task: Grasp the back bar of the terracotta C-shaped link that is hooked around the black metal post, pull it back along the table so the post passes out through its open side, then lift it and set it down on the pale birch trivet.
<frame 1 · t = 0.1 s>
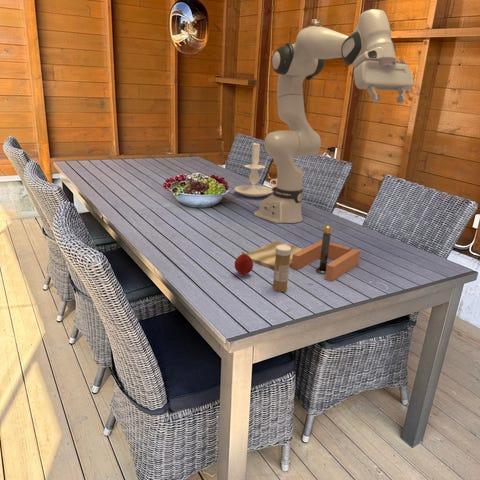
hand: (388, 102, 140), 54 cm above the table, tool tilted 30°, fingers open, 8 cm apart
sprinkles bottle: (279, 289, 137), on the table
c link: (325, 265, 156), on the table
candlestick: (256, 195, 245), on the table
trivet: (278, 256, 162), on the table
onion: (243, 276, 145), on the table
post stand: (322, 271, 151), on the table
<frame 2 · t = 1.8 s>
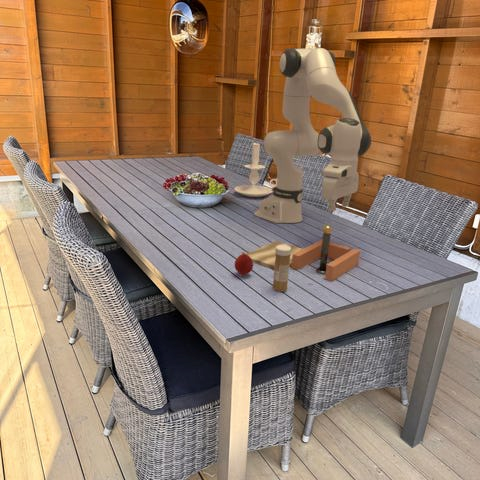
hand: (338, 208, 157), 18 cm above the table, tool pointing down, fingers open, 8 cm apart
nothing on the table moved.
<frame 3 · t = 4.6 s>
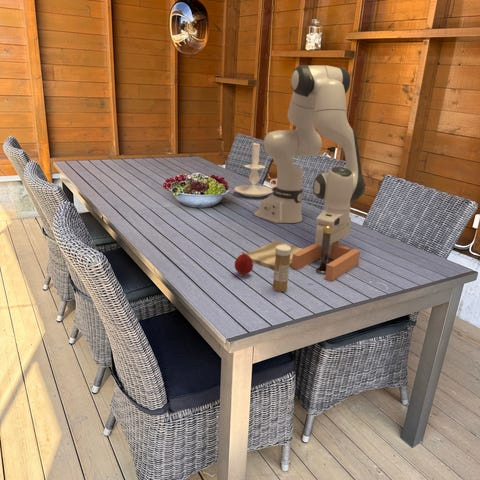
hand: (331, 252, 163), 2 cm above the table, tool pointing down, fingers closed on c link, 2 cm apart
c link: (325, 265, 156), on the table, touching gripper
everything else where it was.
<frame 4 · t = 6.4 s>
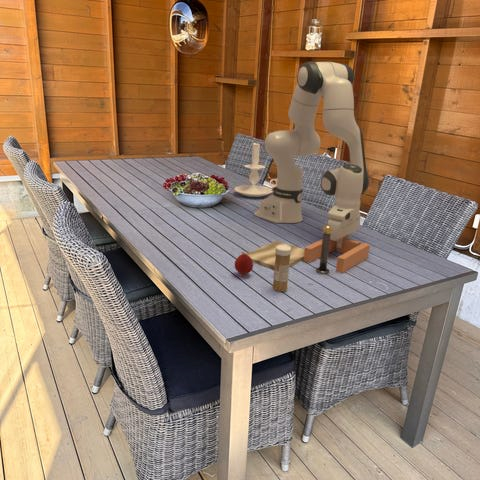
hand: (341, 245, 170), 2 cm above the table, tool pointing down, fingers closed on c link, 2 cm apart
c link: (336, 259, 162), on the table, touching gripper
everything else where it was.
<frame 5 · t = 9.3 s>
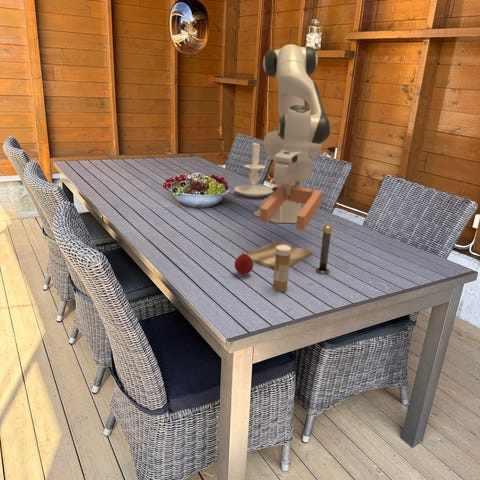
hand: (291, 193, 163), 21 cm above the table, tool pointing down, fingers closed on c link, 3 cm apart
c link: (291, 212, 157), point 16 cm above the table, tilted 13°, touching gripper
everything else where it was.
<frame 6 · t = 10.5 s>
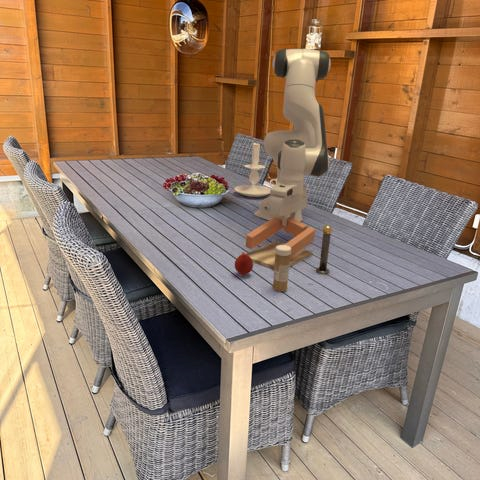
hand: (287, 224, 167), 10 cm above the table, tool pointing down, fingers closed on c link, 3 cm apart
c link: (280, 243, 161), point 5 cm above the table, tilted 16°, touching gripper, trivet
everything else where it was.
when the fingers open (5 cm above the table, at t = 11.6 s): c link stays where it is, resting on trivet.
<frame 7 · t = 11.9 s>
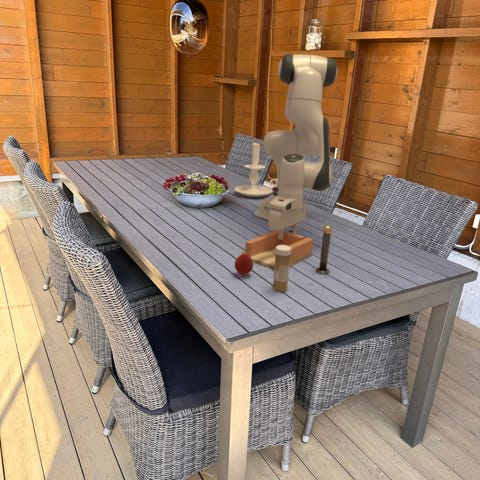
hand: (286, 236, 168), 5 cm above the table, tool pointing down, fingers open, 6 cm apart
c link: (279, 253, 161), point 1 cm above the table, touching trivet
everything else where it was.
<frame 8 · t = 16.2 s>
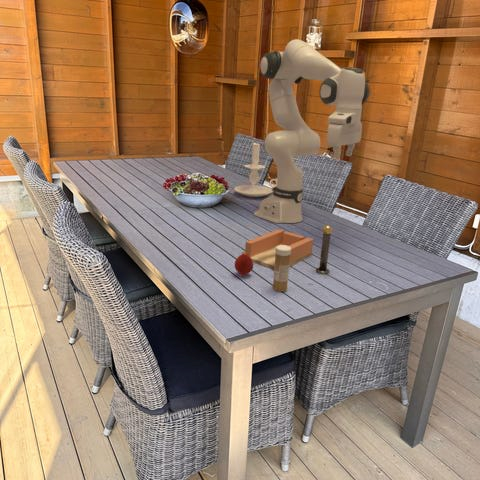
hand: (342, 157, 163), 34 cm above the table, tool pointing down, fingers open, 8 cm apart
nothing on the table moved.
at the end: c link inside the target area on the trivet (0.3 cm from its centre), point 1.2 cm above the trivet's base; c link touching trivet; the gripper is holding nothing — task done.
